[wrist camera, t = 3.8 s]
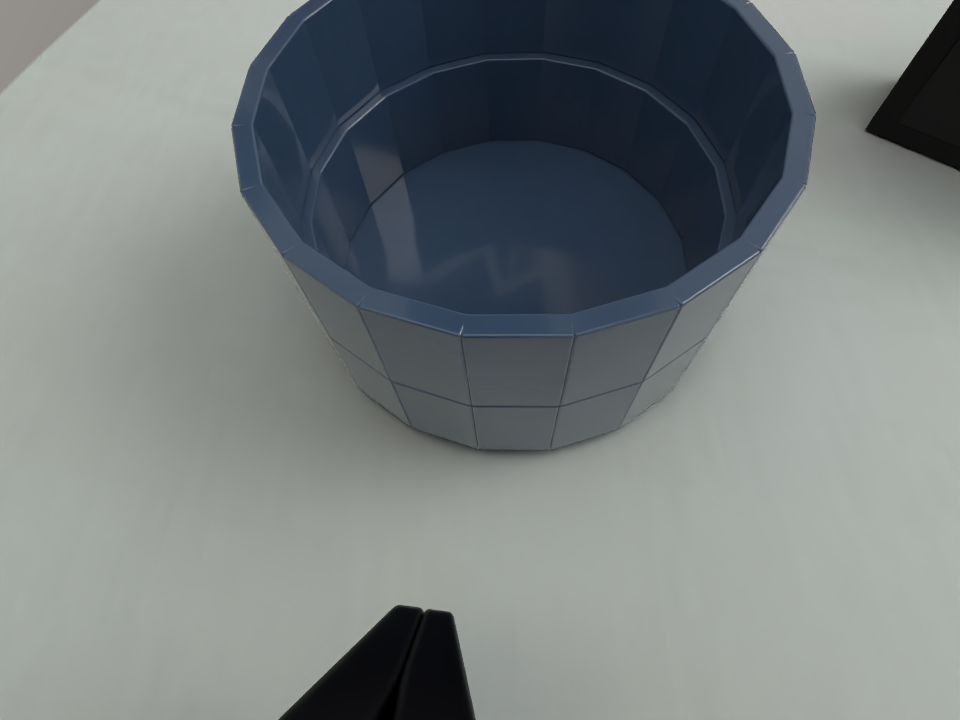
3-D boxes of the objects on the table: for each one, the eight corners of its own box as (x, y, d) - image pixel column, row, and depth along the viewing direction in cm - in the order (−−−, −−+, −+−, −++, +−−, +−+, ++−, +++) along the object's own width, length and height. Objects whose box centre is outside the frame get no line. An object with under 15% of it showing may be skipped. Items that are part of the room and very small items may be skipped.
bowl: (793, 307, 22) (948, 125, 14) (461, 546, 18) (428, 478, 11) (547, 90, 28) (562, -120, 20) (263, 241, 24) (150, 57, 17)
